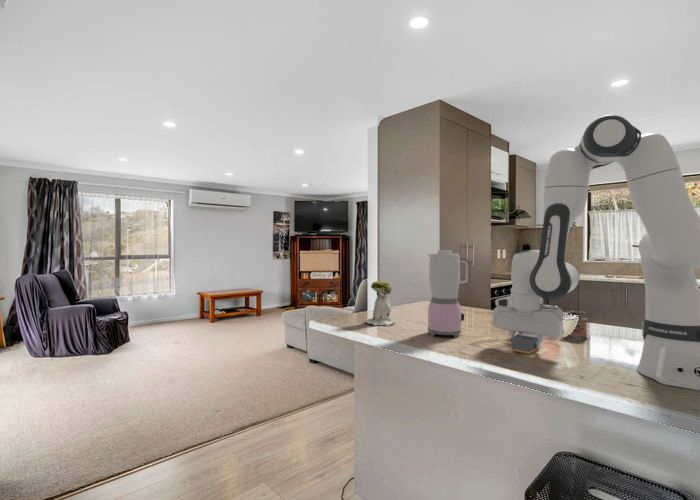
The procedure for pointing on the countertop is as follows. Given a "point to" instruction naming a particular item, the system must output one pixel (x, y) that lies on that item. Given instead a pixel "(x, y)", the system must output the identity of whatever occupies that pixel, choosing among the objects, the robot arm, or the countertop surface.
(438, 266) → the blender
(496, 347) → the oak board
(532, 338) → the block
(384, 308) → the stone planter with plant
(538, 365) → the countertop surface
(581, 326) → the maroon upright canister
